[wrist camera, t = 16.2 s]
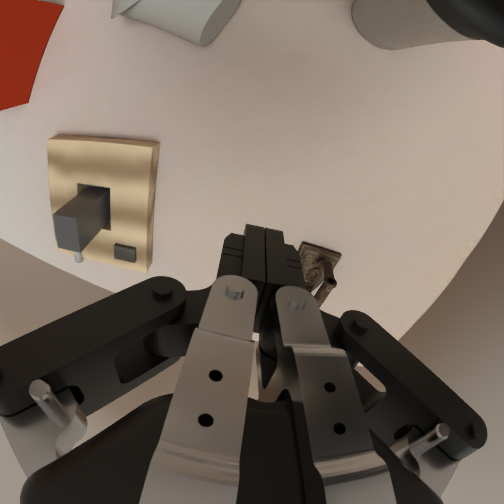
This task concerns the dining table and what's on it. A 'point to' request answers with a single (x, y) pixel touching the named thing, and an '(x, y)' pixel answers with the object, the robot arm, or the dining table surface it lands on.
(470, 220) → the dining table surface
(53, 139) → the socket board
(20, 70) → the file binder
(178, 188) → the dining table surface
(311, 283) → the clothes iron
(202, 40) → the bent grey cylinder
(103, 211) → the plug
